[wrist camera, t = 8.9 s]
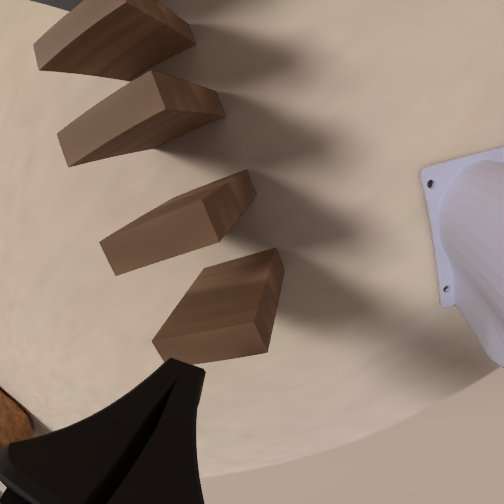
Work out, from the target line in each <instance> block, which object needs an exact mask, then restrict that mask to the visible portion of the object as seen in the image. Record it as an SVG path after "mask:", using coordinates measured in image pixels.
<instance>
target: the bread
mask: <svg viewBox="0 0 504 504" xmlns="http://www.w3.org/2000/svg"><path fill="white" fill-rule="evenodd" d="M30 438H33V430H32V425H31V422H30V420H29V418H28V416H27V415H26V414H25V412H24V411H23V410H22V409H21V408H20V407H19V406H18V405H17V404H16V403H15V402H14V401H13V400H12V399H10V398H9V397H8V396H6V395H5V394H4V393H3V392H1V391H0V452H1V451H2V450H3V449H4V448H5V447H6V446H7V445H8V444H9V443H11V442H16V441H21V440H25V439H30Z"/></svg>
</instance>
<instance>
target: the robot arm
mask: <svg viewBox="0 0 504 504" xmlns="http://www.w3.org/2000/svg"><path fill="white" fill-rule="evenodd" d="M420 180H421V184H422V188H423V193H424V197H425V202H426V207H427V212H428V217H429V223H430V229H431V235H432V241H433V247H434V254H435V262H436V270H437V278H438V288H439V299H440V304H441V305H442V307H444V308H448V307H451V306H454V305H456V306H457V308H458V309H459V311H460V312H461V314H462V315H463V317H464V319H465V320H466V322H467V323H468V325H469V326H470V328H471V330H472V331H473V333H474V335H475V336H476V338H477V339H478V341H479V343H480V344H481V346H482V348H483V350H484V351H485V353H486V354H487V355H488V357H489V358H490V359H491V360H492V361H493V362H495V363H496V364H498V365H499V366H501V367H503V368H504V146H502V147H498V148H494V149H490V150H486V151H482V152H479V153H475V154H471V155H467V156H463V157H459V158H456V159H452V160H448V161H444V162H441V163H437V164H433V165H430V166H426V167H424V168H422V170H421V171H420ZM429 180H432V181H433V185H432V187H430V188H428V186H427V183H428V181H429ZM445 286H448V288H447V289H446V290H443V289H444V287H445ZM205 373H206V372H205V370H204V369H202V368H199V367H196V366H194V365H191V364H188V363H185V362H182V361H179V360H177V359H174V358H169V359H167V360H166V361H165V362H164V363H163V364H162V365H161V366H160V367H159V368H158V369H157V370H156V371H155V372H154V373H152V374H151V375H150V376H149V377H148V378H146V379H145V380H144V381H143V382H142V383H140V384H139V385H138V386H136V387H135V388H134V389H133V390H131V391H130V392H129V393H127V394H126V395H124V396H123V397H121V398H120V399H118V400H117V401H115V402H114V403H112V404H111V405H109V406H108V407H106V408H104V409H102V410H101V411H99V412H97V413H95V414H93V415H92V416H90V417H88V418H86V419H83V420H81V421H79V422H77V423H75V424H73V425H70V426H68V427H65V428H63V429H60V430H57V431H54V432H51V433H48V434H45V435H42V436H38V437H34V438H30V439H25V440H21V441H16V442H11V443H9V444H8V445H7V446H6V447H5V448H4V449H3V450H2V451H1V452H0V481H1V482H2V483H3V484H4V485H5V486H6V487H7V489H6V490H5V492H4V493H2V492H1V491H0V504H204V500H203V495H202V489H201V484H200V478H199V470H198V461H197V448H196V417H197V407H198V404H199V401H200V396H201V392H202V387H203V382H204V378H205Z"/></svg>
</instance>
